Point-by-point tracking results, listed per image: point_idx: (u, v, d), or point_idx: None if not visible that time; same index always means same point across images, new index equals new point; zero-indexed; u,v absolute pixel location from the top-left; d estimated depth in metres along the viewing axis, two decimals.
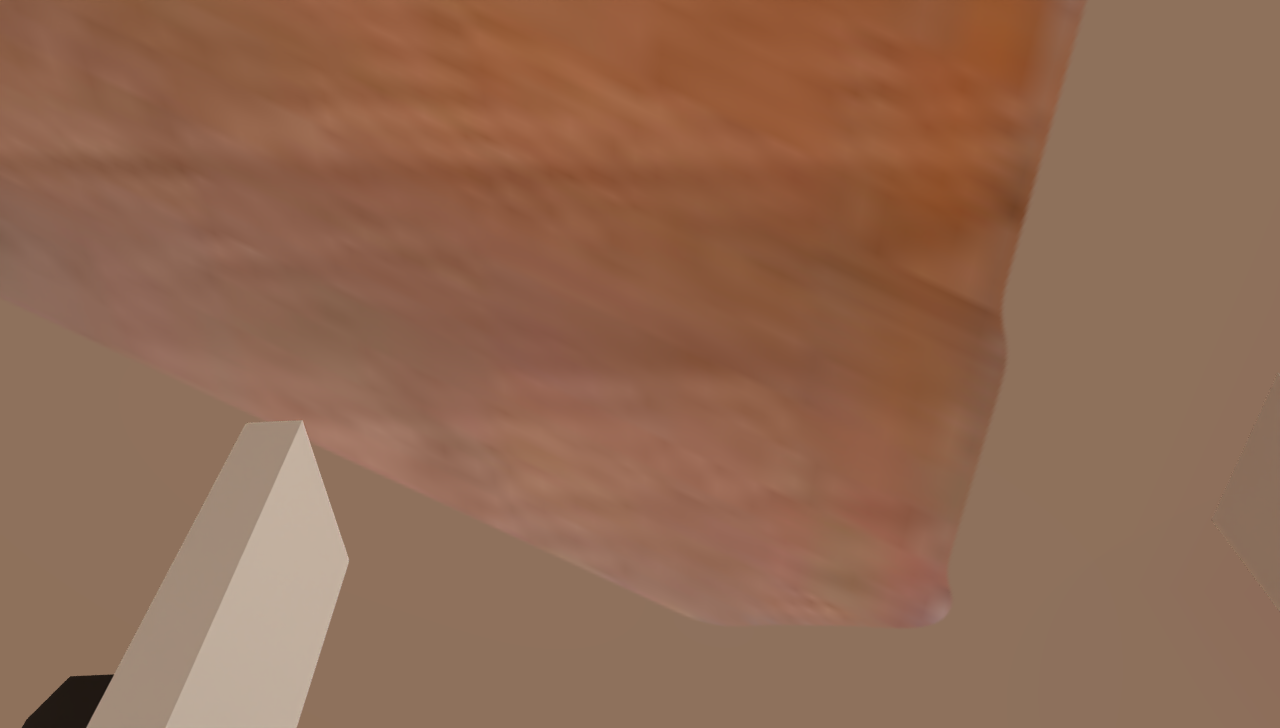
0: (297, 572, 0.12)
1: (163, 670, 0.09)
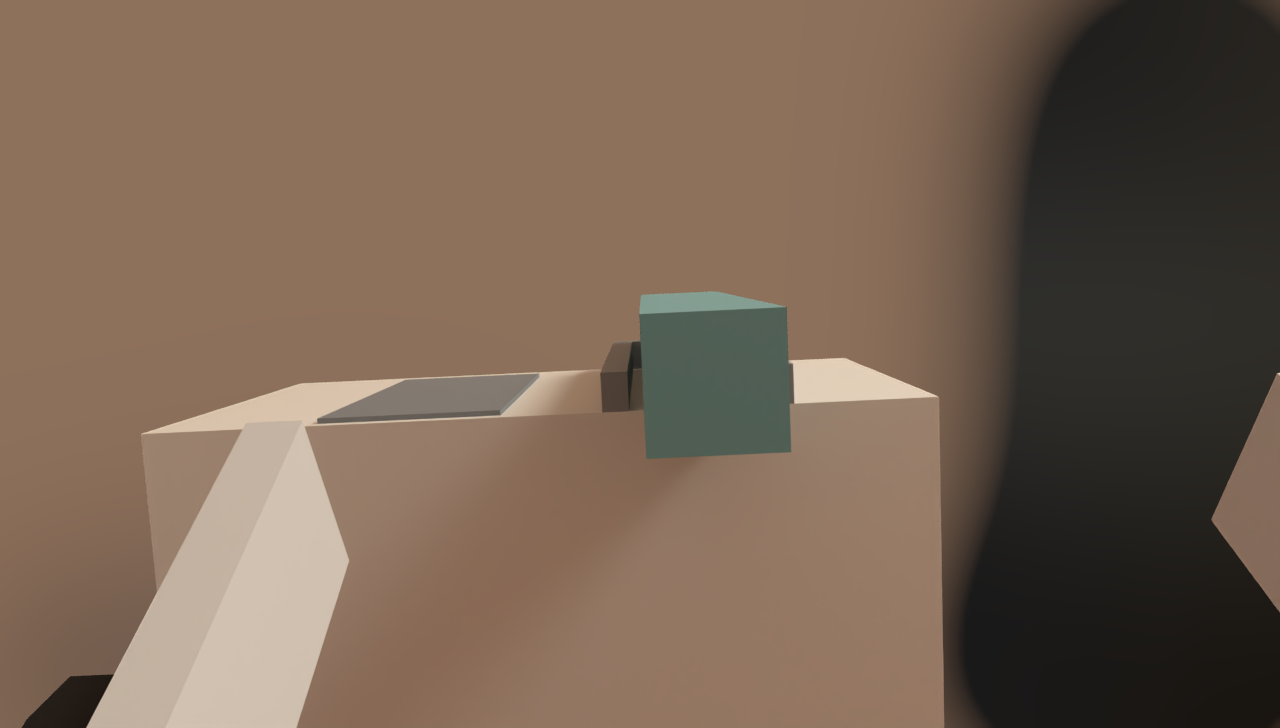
0: (297, 572, 0.12)
1: (163, 670, 0.09)
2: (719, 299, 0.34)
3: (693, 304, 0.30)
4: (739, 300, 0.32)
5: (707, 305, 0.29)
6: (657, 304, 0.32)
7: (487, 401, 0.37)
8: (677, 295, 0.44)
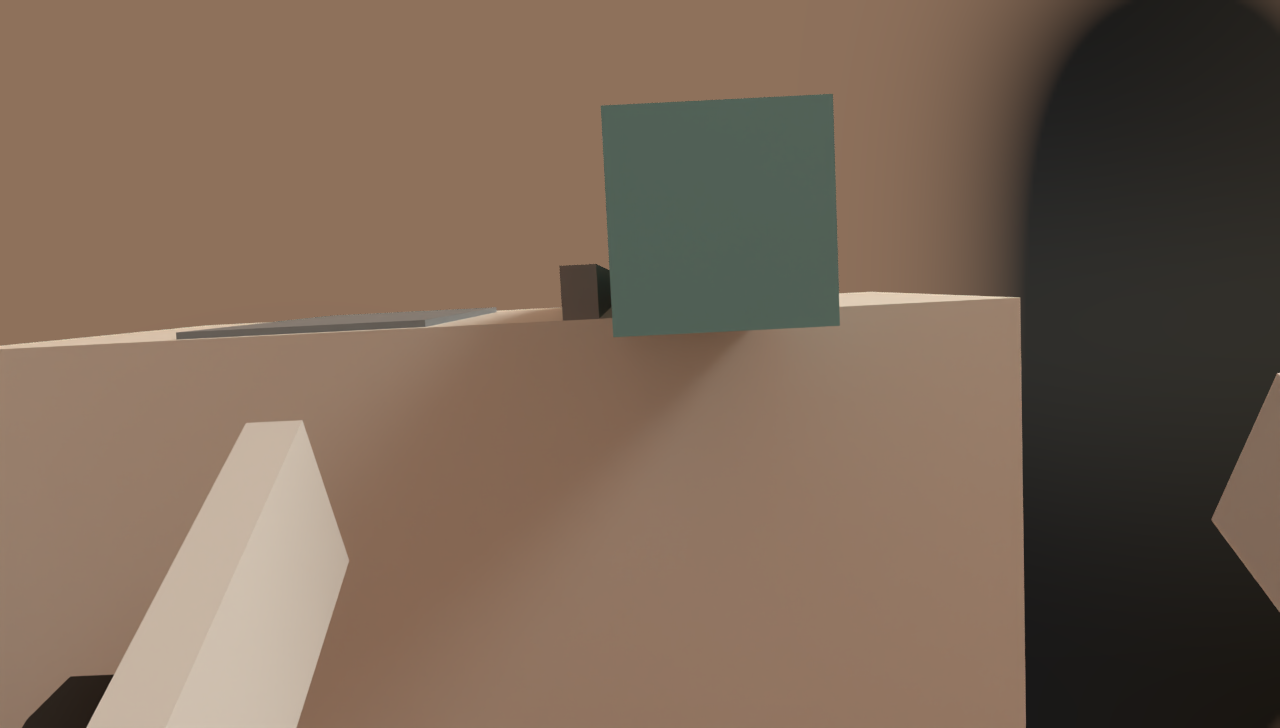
0: (297, 572, 0.12)
1: (163, 670, 0.09)
2: None
3: None
4: None
5: None
6: None
7: None
8: None
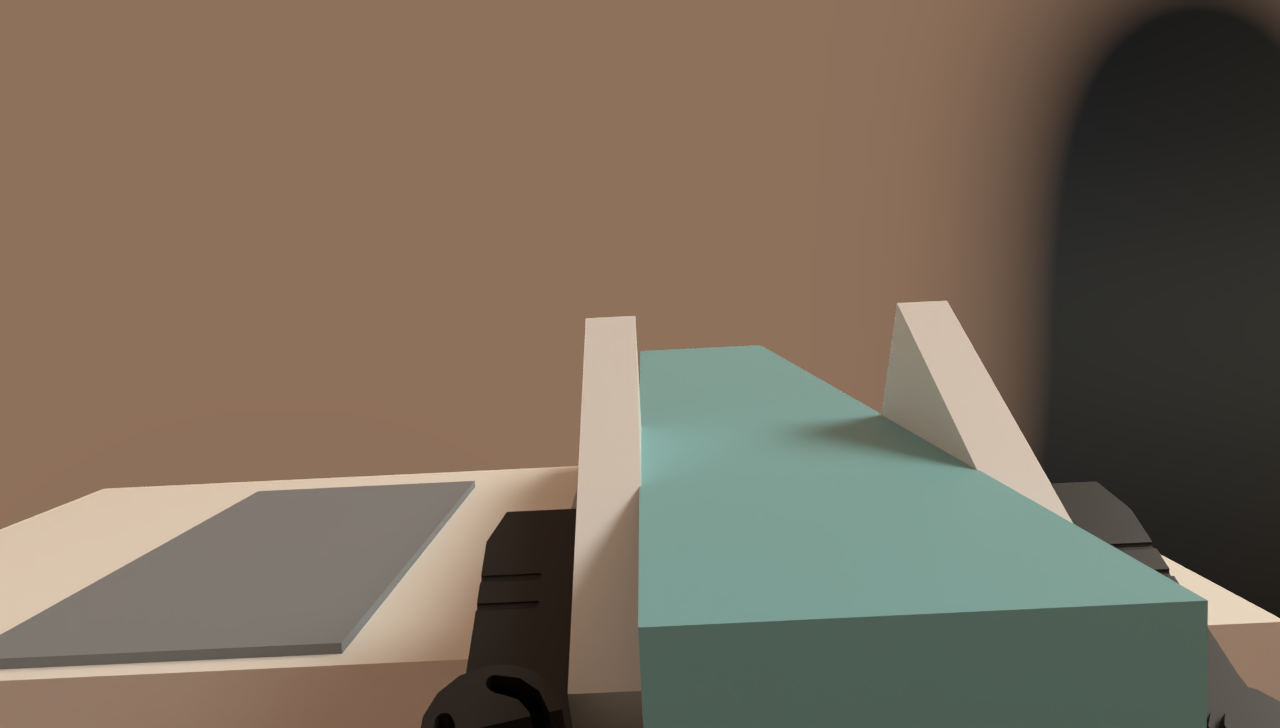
0: None
1: (617, 494, 0.11)
2: (809, 409, 0.16)
3: (775, 459, 0.12)
4: (871, 429, 0.14)
5: (826, 484, 0.10)
6: (679, 439, 0.14)
7: (338, 593, 0.19)
8: (703, 362, 0.25)
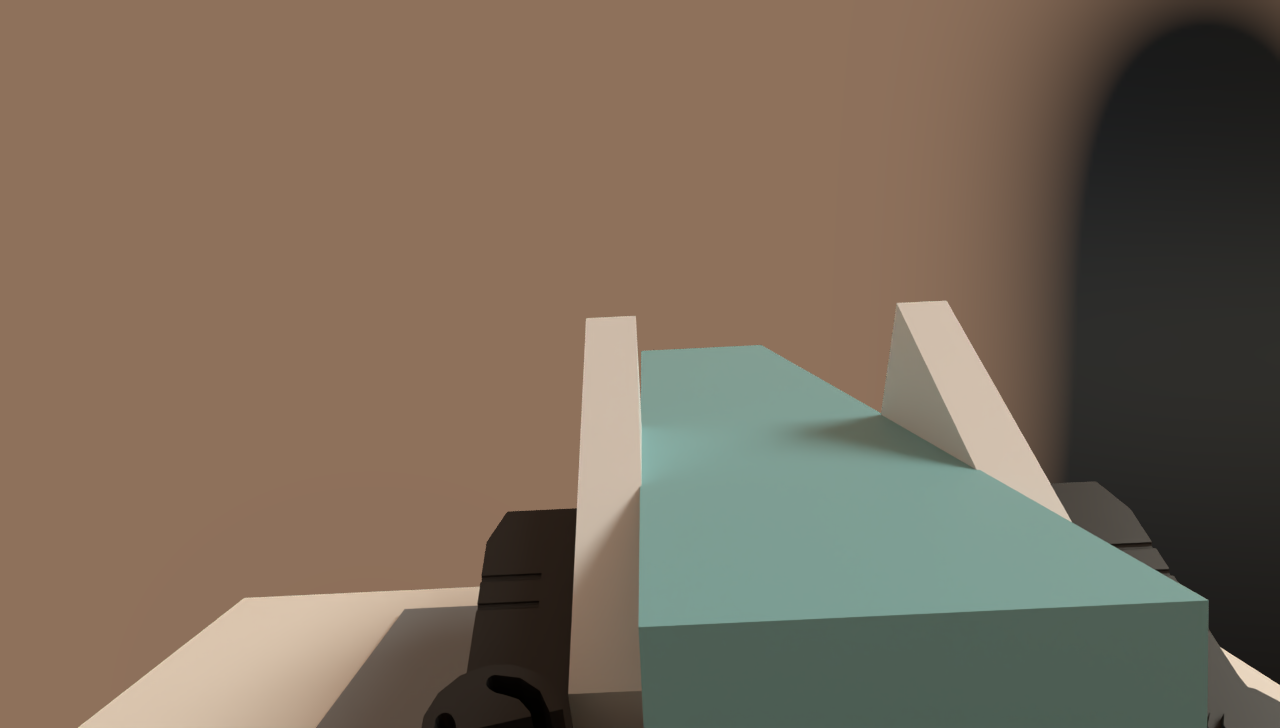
0: (641, 445, 0.13)
1: (618, 494, 0.11)
2: (810, 409, 0.16)
3: (776, 459, 0.12)
4: (872, 429, 0.14)
5: (826, 484, 0.10)
6: (680, 439, 0.14)
7: None
8: (703, 362, 0.25)
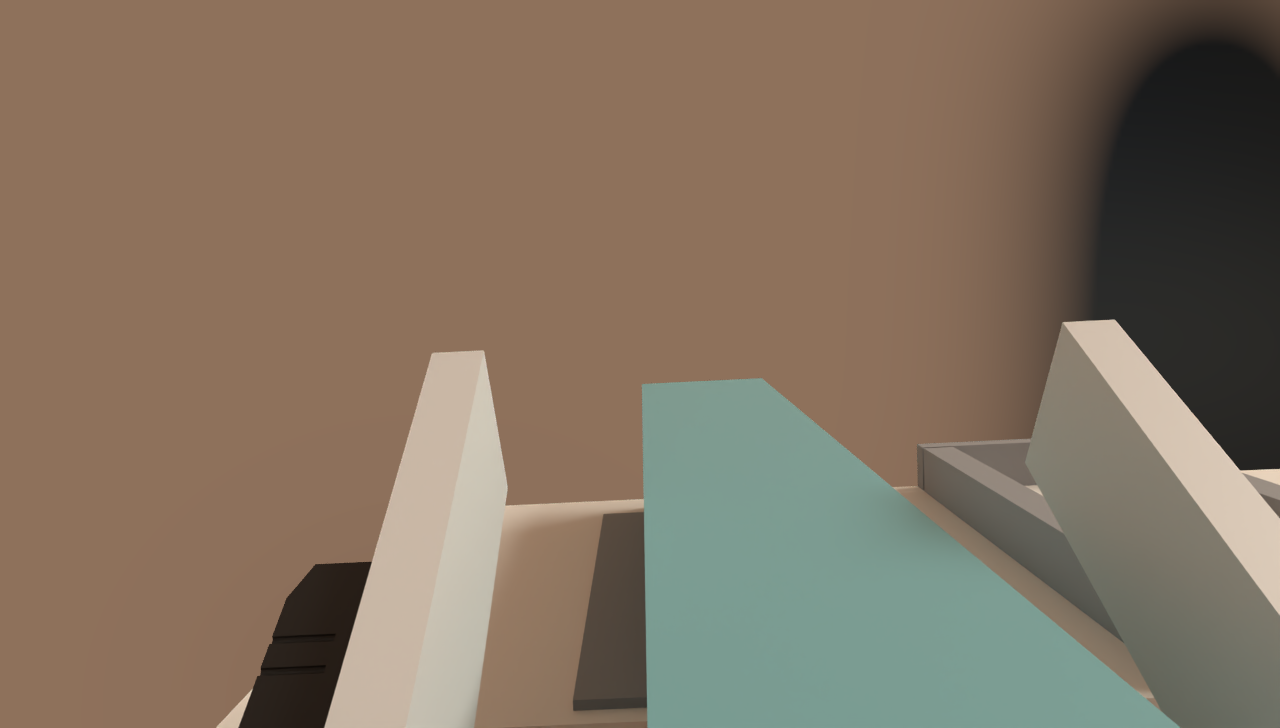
0: (485, 486, 0.13)
1: (417, 550, 0.10)
2: (812, 471, 0.16)
3: (779, 543, 0.12)
4: (875, 502, 0.14)
5: (831, 580, 0.10)
6: (684, 512, 0.14)
7: None
8: (704, 401, 0.25)
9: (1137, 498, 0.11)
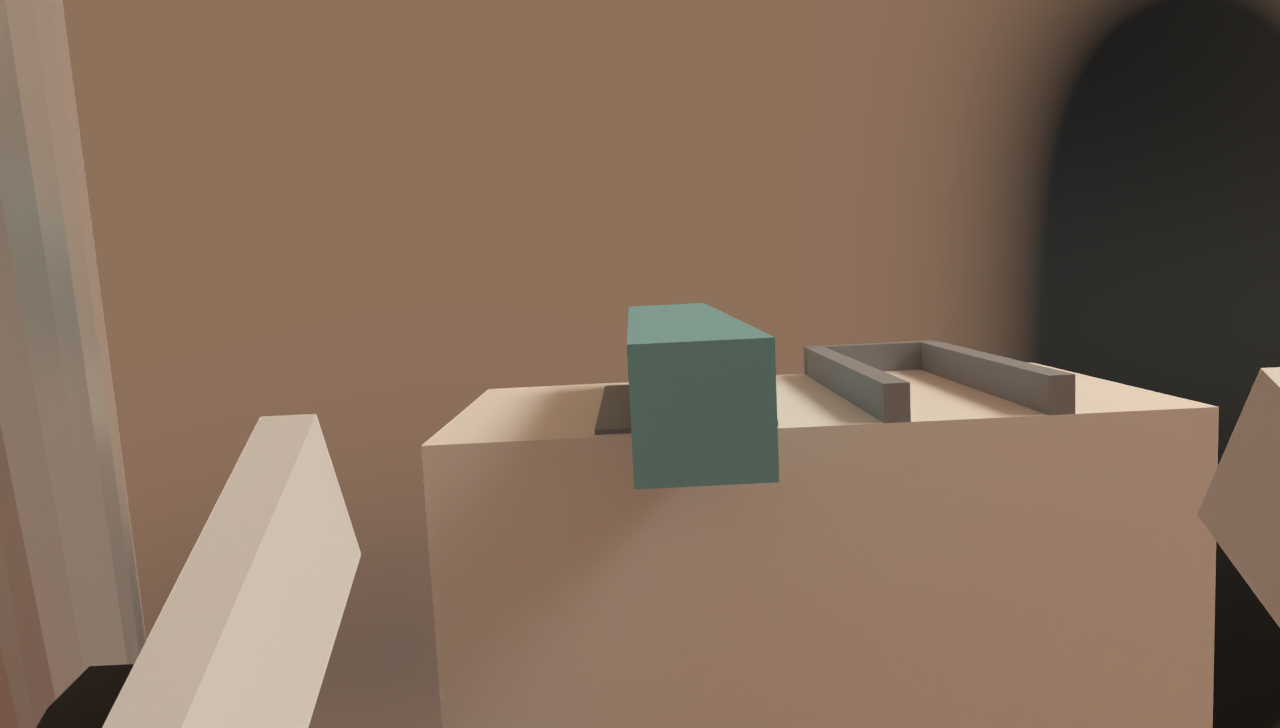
0: (311, 564, 0.12)
1: (183, 659, 0.09)
2: (707, 319, 0.34)
3: (681, 328, 0.30)
4: (727, 322, 0.32)
5: (695, 330, 0.28)
6: (645, 326, 0.32)
7: None
8: (665, 309, 0.43)
9: None
